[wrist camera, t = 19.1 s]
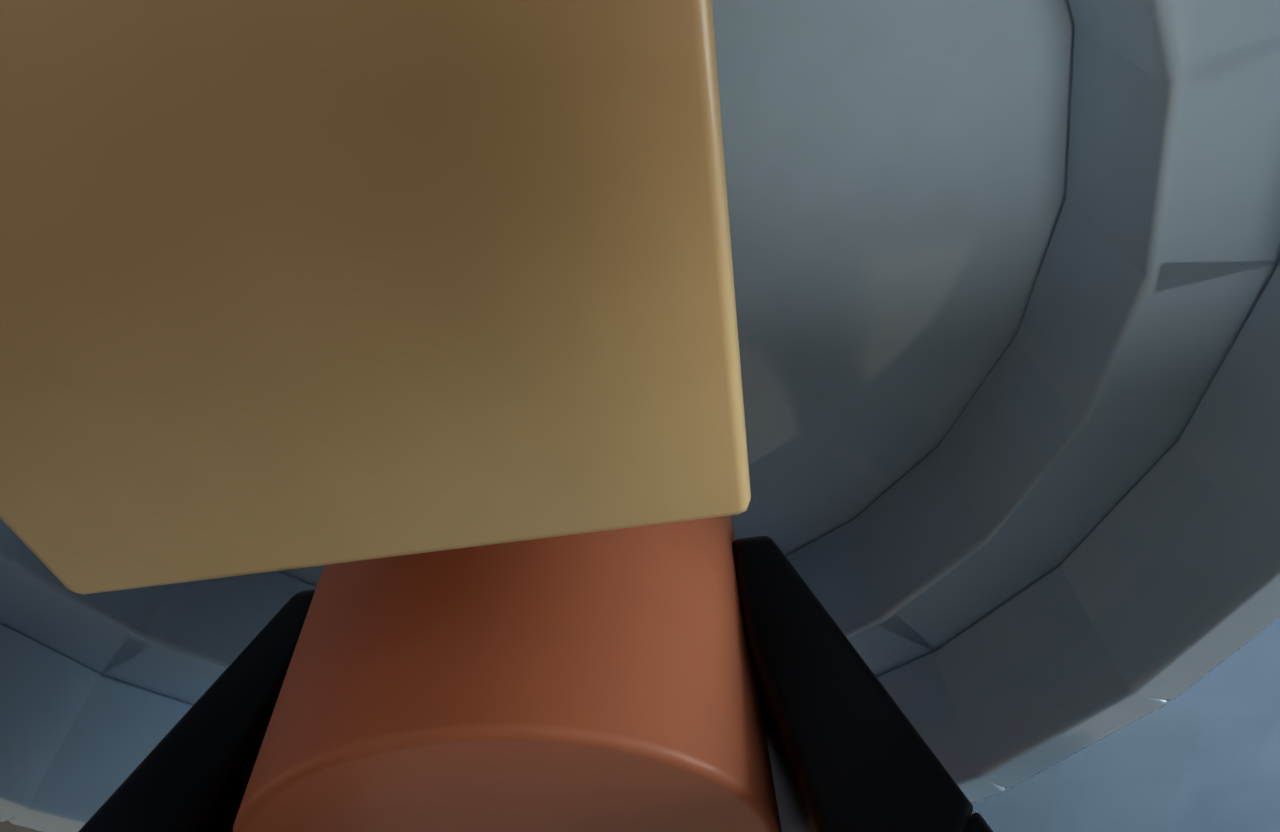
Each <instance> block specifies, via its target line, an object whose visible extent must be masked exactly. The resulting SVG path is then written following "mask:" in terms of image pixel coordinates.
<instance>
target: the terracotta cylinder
mask: <svg viewBox="0 0 1280 832" xmlns="http://www.w3.org/2000/svg"><path fill="white" fill-rule="evenodd" d="M734 541H735V538H734V532H733V526H732V520H731V515H730V516H722V517H714V518H705V519H697V520H689V521H681V522H673V523H665V524H656V525H648V526H640V527H632V528H624V529H616V530H607V531H599V532H591V533H583V534H575V535H567V536H558V537H550V538H542V539H534V540H526V541H518V542H509V543H501V544H493V545H485V546H477V547H469V548H460V549H452V550H444V551H436V552H428V553H420V554H411V555H403V556H395V557H387V558H379V559H371V560H362V561H354V562H346V563H338V564H330V565H324V567H323V570H322V572H321V575H320V578H319V581H318V584H317V587H316V590H315V592H314V595H313V598H312V601H311V604H310V607H309V610H308V613H307V615H306V618H305V621H304V624H303V627H302V630H301V633H300V636H299V638H298V641H297V644H296V647H295V650H294V653H293V656H292V659H291V661H290V664H289V667H288V670H287V673H286V676H285V679H284V682H283V684H282V687H281V690H280V693H279V696H278V699H277V702H276V704H275V707H274V710H273V713H272V716H271V719H270V722H269V725H268V727H267V730H266V733H265V736H264V739H263V742H262V745H261V748H260V750H259V753H258V756H257V759H256V762H255V765H254V768H253V771H252V773H251V776H250V779H249V782H248V785H247V788H246V791H245V793H244V796H243V799H242V802H241V805H240V808H239V811H238V814H237V816H236V819H235V822H234V825H233V832H782V830H781V824H780V818H779V812H778V806H777V799H776V793H775V787H774V781H773V774H772V768H771V762H770V756H769V750H768V743H767V737H766V731H765V725H764V719H763V714H762V708H761V703H760V698H759V692H758V688H757V684H756V679H755V675H754V671H753V666H752V662H751V658H750V652H749V647H748V642H747V636H746V630H745V624H744V617H743V611H742V605H741V598H740V592H739V586H738V579H737V573H736V567H735V560H734V553H733V542H734Z"/></svg>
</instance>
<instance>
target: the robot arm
mask: <svg viewBox="0 0 1280 832" xmlns="http://www.w3.org/2000/svg"><path fill="white" fill-rule="evenodd" d="M733 553H734V560H735V567H736V573H737V579H738V586H739V592H740V598H741V605H742V611H743V617H744V624H745V630H746V636H747V642H748V647H749V652H750V658H751V662H752V666H753V671H754V675H755V679H756V684H757V688H758V692H759V698H760V703H761V708H762V714H763V719H764V725H765V731H766V737H767V743H768V750H769V756H770V762H771V768H772V774H773V781H774V787H775V793H776V799H777V806H778V812H779V818H780V824H781V828H782V832H993V831H992V830H991V828H990V827H989V826H988V824H987V823H986V822H985V820H984V819H983V818H982V816H981V815H980V814H978V813H973V814H972V811H973V805H972V804H971V802H970V801H969V800H968V798H967V797H966V796H965V794H964V793H963V792H962V790H961V789H960V788H959V786H958V785H957V784H956V782H955V781H954V780H953V778H952V777H951V776H950V774H949V773H948V772H947V770H946V769H945V768H944V766H943V765H942V764H941V762H940V761H939V760H938V758H937V757H936V756H935V754H934V753H933V752H932V750H931V749H930V748H929V746H928V745H927V744H926V742H925V741H924V740H923V738H922V737H921V736H920V734H919V733H918V732H917V730H916V729H915V728H914V726H913V725H912V724H911V722H910V721H909V720H908V718H907V717H906V716H905V715H904V713H903V712H902V711H901V709H900V708H899V707H898V705H897V704H896V703H895V701H894V700H893V699H892V697H891V696H890V695H889V693H888V692H887V691H886V689H885V688H884V687H883V685H882V684H881V683H880V681H879V680H878V679H877V677H876V676H875V675H874V673H873V672H872V671H871V669H870V668H869V667H868V665H867V664H866V663H865V661H864V660H863V659H862V657H861V656H860V655H859V653H858V652H857V651H856V649H855V648H854V647H853V645H852V644H851V643H850V641H849V640H848V639H847V637H846V636H845V635H844V633H843V632H842V631H841V629H840V628H839V627H838V625H837V624H836V623H835V621H834V620H833V619H832V617H831V616H830V615H829V613H828V612H827V611H826V609H825V608H824V607H823V605H822V604H821V603H820V601H819V600H818V599H817V597H816V596H815V595H814V594H813V592H812V591H811V590H810V588H809V587H808V586H807V584H806V583H805V582H804V580H803V579H802V578H801V576H800V575H799V574H798V572H797V571H796V570H795V568H794V567H793V566H792V564H791V563H790V562H789V560H788V559H787V558H786V556H785V555H784V554H783V552H782V551H781V550H780V548H779V547H778V546H777V544H776V543H775V542H774V541H773V540H772V539H771V538H770V537H768V536H757V537H748V538H740V539H736V540H735V541H734V542H733ZM315 590H316V589H313V590H305V591H301V592H299V593H297V594H295V595H294V596H293V597H292V598H291V599H289V601H288V602H287V603H286V604H285V605H284V606H283V607H282V608H281V609H280V610H279V612H278V613H277V614H276V615H275V616H274V617H273V618H272V619H271V620H270V621H269V623H268V624H267V625H266V626H265V627H264V628H263V629H262V630H261V631H260V632H259V634H258V635H257V636H256V637H255V638H254V639H253V640H252V641H251V642H250V643H249V645H248V646H247V647H246V648H245V649H244V650H243V651H242V652H241V653H240V654H239V656H238V657H237V658H236V659H235V660H234V661H233V662H232V663H231V664H230V665H229V667H228V668H227V669H226V670H225V671H224V672H223V673H222V674H221V675H220V676H219V678H218V679H217V680H216V681H215V682H214V683H213V684H212V685H211V686H210V687H209V688H208V690H207V691H206V692H205V693H204V694H203V695H202V696H201V697H200V698H199V699H198V701H197V702H196V703H195V704H194V705H193V706H192V707H191V708H190V709H189V710H188V712H187V713H186V714H185V715H184V716H183V717H182V718H181V719H180V720H179V721H178V723H177V724H176V725H175V726H174V727H173V728H172V729H171V730H170V731H169V732H168V734H167V735H166V736H165V737H164V738H163V739H162V740H161V741H160V742H159V743H158V745H157V746H156V747H155V748H154V749H153V750H152V751H151V752H150V753H149V754H148V756H147V757H146V758H145V759H144V760H143V761H142V762H141V763H140V764H139V765H138V767H137V768H136V769H135V770H134V771H133V772H132V773H131V774H130V775H129V776H128V777H127V779H126V780H125V781H124V782H123V783H122V784H121V785H120V786H119V787H118V788H117V790H116V791H115V792H114V793H113V794H112V795H111V796H110V797H109V798H108V799H107V801H106V802H105V803H104V804H103V805H102V806H101V807H100V808H99V809H98V810H97V812H96V813H95V814H94V815H93V816H92V817H91V818H90V819H89V820H88V821H87V823H86V824H85V825H84V826H83V827H82V828H81V829H80V830H79V831H78V832H233V825H234V822H235V819H236V816H237V814H238V811H239V808H240V805H241V802H242V799H243V796H244V793H245V791H246V788H247V785H248V782H249V779H250V776H251V773H252V771H253V768H254V765H255V762H256V759H257V756H258V753H259V750H260V748H261V745H262V742H263V739H264V736H265V733H266V730H267V727H268V725H269V722H270V719H271V716H272V713H273V710H274V707H275V704H276V702H277V699H278V696H279V693H280V690H281V687H282V684H283V682H284V679H285V676H286V673H287V670H288V667H289V664H290V661H291V659H292V656H293V653H294V650H295V647H296V644H297V641H298V638H299V636H300V633H301V630H302V627H303V624H304V621H305V618H306V615H307V613H308V610H309V607H310V604H311V601H312V598H313V595H314V592H315Z"/></svg>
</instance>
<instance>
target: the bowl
mask: <svg viewBox="0 0 1280 832" xmlns="http://www.w3.org/2000/svg"><path fill="white" fill-rule="evenodd" d="M712 9H713V21H714V34H715V47H716V59H717V72H718V85H719V97H720V110H721V123H722V136H723V148H724V161H725V174H726V186H727V199H728V212H729V224H730V237H731V250H732V262H733V275H734V288H735V300H736V313H737V326H738V338H739V351H740V364H741V376H742V389H743V402H744V414H745V427H746V440H747V452H748V465H749V478H750V490H751V499H750V502H749V505H748V508H747V510H746V511H745V512H742V513H740V514H738V515H731V520H732V526H733V532H734V538H735V540H736V539H740V538H748V537H757V536H768V537H770V538H771V539H772V540H773V541H774V542H775V543H776V544H777V546H778V547H779V548H780V550H781V551H782V552H783V554H784V555H785V556H786V558H787V559H788V560H789V562H790V563H791V564H792V566H793V567H794V568H795V570H796V571H797V572H798V574H799V575H800V576H801V578H802V579H803V580H804V582H805V583H806V584H807V586H808V587H809V588H810V590H811V591H812V592H813V594H814V595H815V596H816V597H817V599H818V600H819V601H820V603H821V604H822V605H823V607H824V608H825V609H826V611H827V612H828V613H829V615H830V616H831V617H832V619H833V620H834V621H835V623H836V624H837V625H838V627H839V628H840V629H841V631H842V632H843V633H844V635H845V636H846V637H847V639H848V640H849V641H850V643H851V644H852V645H853V647H854V648H855V649H856V651H857V652H858V653H859V655H860V656H861V657H862V659H863V660H864V661H865V663H866V664H867V665H868V667H869V668H870V669H871V671H872V672H873V673H874V675H875V676H876V677H877V679H878V680H879V681H880V683H881V684H882V685H883V687H884V688H885V689H886V691H887V692H888V693H889V695H890V696H891V697H892V699H893V700H894V701H895V703H896V704H897V705H898V707H899V708H900V709H901V711H902V712H903V713H904V715H905V716H906V717H907V718H908V720H909V721H910V722H911V724H912V725H913V726H914V728H915V729H916V730H917V732H918V733H919V734H920V736H921V737H922V738H923V740H924V741H925V742H926V744H927V745H928V746H929V748H930V749H931V750H932V752H933V753H934V754H935V756H936V757H937V758H938V760H939V761H940V762H941V764H942V765H943V766H944V768H945V769H946V770H947V772H948V773H949V774H950V776H951V777H952V778H953V780H954V781H955V782H956V784H957V785H958V786H959V788H960V789H961V790H962V792H963V793H964V794H965V796H966V797H967V798H968V800H969V801H970V802H971V803H973V802H976V801H979V800H982V799H985V798H987V797H990V796H993V795H996V794H999V793H1001V792H1003V791H1005V788H1011V787H1013V786H1015V785H1017V784H1019V783H1021V782H1023V781H1025V780H1026V779H1028V778H1030V777H1032V776H1034V775H1036V774H1038V773H1040V772H1041V771H1043V770H1045V769H1047V768H1049V767H1051V766H1053V765H1054V764H1056V763H1058V762H1060V761H1062V760H1064V759H1066V758H1068V757H1069V756H1071V755H1073V754H1075V753H1077V752H1079V751H1081V750H1083V749H1084V748H1086V747H1088V746H1090V745H1092V744H1094V743H1096V742H1097V741H1099V740H1101V739H1103V738H1105V737H1107V736H1109V735H1111V734H1112V733H1114V732H1116V731H1118V730H1120V729H1122V728H1124V727H1125V726H1127V725H1129V724H1131V723H1133V722H1135V721H1137V720H1139V719H1140V718H1142V717H1144V716H1146V715H1148V714H1150V713H1152V712H1154V711H1155V710H1157V709H1159V708H1161V707H1163V706H1165V705H1166V703H1167V701H1169V700H1173V699H1176V698H1177V697H1178V696H1179V695H1181V694H1182V693H1183V692H1185V691H1186V690H1187V689H1188V688H1190V687H1191V686H1192V685H1194V684H1195V683H1196V682H1197V681H1199V680H1200V679H1201V678H1203V677H1204V676H1205V675H1206V674H1208V673H1209V672H1210V671H1212V670H1213V669H1214V668H1215V667H1217V666H1218V665H1219V664H1221V663H1222V662H1223V661H1224V660H1226V659H1227V658H1228V657H1230V656H1231V655H1232V654H1233V653H1235V652H1236V651H1237V650H1238V649H1240V648H1241V647H1242V646H1244V645H1245V644H1246V643H1247V642H1249V641H1250V640H1251V639H1253V638H1254V637H1255V636H1256V635H1258V634H1259V633H1260V632H1262V631H1263V630H1264V629H1265V628H1267V627H1268V626H1269V625H1271V624H1272V623H1273V622H1274V621H1276V620H1277V619H1278V618H1280V0H712ZM323 567H324V565H322V566H313V567H305V568H297V569H289V570H281V571H273V572H264V573H256V574H248V575H240V576H232V577H224V578H215V579H207V580H199V581H191V582H183V583H175V584H166V585H158V586H150V587H142V588H134V589H126V590H117V591H109V592H101V593H93V594H85V595H83V594H78V593H75V592H72V591H70V590H68V589H67V588H66V587H65V586H64V585H63V584H62V583H61V581H60V580H59V579H58V578H57V577H56V576H55V575H54V574H53V573H52V572H51V571H50V570H49V569H48V568H47V567H46V566H45V565H44V564H43V563H42V561H41V560H40V559H39V558H38V557H37V556H36V555H35V554H34V553H33V552H32V551H31V550H30V549H29V548H28V547H27V546H26V545H25V544H24V543H23V541H22V540H21V539H20V538H19V537H18V536H17V535H16V534H15V533H14V532H13V531H12V530H11V529H10V528H9V527H8V526H7V525H6V524H5V523H4V521H3V520H2V519H1V518H0V821H1V822H2V821H7V820H8V821H9V822H10V823H12V824H15V825H19V826H23V827H27V828H31V829H35V830H39V831H43V832H78V831H79V830H80V829H81V828H82V827H83V826H84V825H85V824H86V823H87V821H88V820H89V819H90V818H91V817H92V816H93V815H94V814H95V813H96V812H97V810H98V809H99V808H100V807H101V806H102V805H103V804H104V803H105V802H106V801H107V799H108V798H109V797H110V796H111V795H112V794H113V793H114V792H115V791H116V790H117V788H118V787H119V786H120V785H121V784H122V783H123V782H124V781H125V780H126V779H127V777H128V776H129V775H130V774H131V773H132V772H133V771H134V770H135V769H136V768H137V767H138V765H139V764H140V763H141V762H142V761H143V760H144V759H145V758H146V757H147V756H148V754H149V753H150V752H151V751H152V750H153V749H154V748H155V747H156V746H157V745H158V743H159V742H160V741H161V740H162V739H163V738H164V737H165V736H166V735H167V734H168V732H169V731H170V730H171V729H172V728H173V727H174V726H175V725H176V724H177V723H178V721H179V720H180V719H181V718H182V717H183V716H184V715H185V714H186V713H187V712H188V710H189V709H190V708H191V707H192V706H193V705H194V704H195V703H196V702H197V701H198V699H199V698H200V697H201V696H202V695H203V694H204V693H205V692H206V691H207V690H208V688H209V687H210V686H211V685H212V684H213V683H214V682H215V681H216V680H217V679H218V678H219V676H220V675H221V674H222V673H223V672H224V671H225V670H226V669H227V668H228V667H229V665H230V664H231V663H232V662H233V661H234V660H235V659H236V658H237V657H238V656H239V654H240V653H241V652H242V651H243V650H244V649H245V648H246V647H247V646H248V645H249V643H250V642H251V641H252V640H253V639H254V638H255V637H256V636H257V635H258V634H259V632H260V631H261V630H262V629H263V628H264V627H265V626H266V625H267V624H268V623H269V621H270V620H271V619H272V618H273V617H274V616H275V615H276V614H277V613H278V612H279V610H280V609H281V608H282V607H283V606H284V605H285V604H286V603H287V602H288V601H289V599H291V598H292V597H293V596H294V595H295V594H297V593H299V592H301V591H305V590H313V589H316V587H317V584H318V581H319V578H320V575H321V572H322V570H323ZM781 830H782V828H781Z"/></svg>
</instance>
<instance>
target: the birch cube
mask: <svg viewBox="0 0 1280 832" xmlns="http://www.w3.org/2000/svg"><path fill="white" fill-rule="evenodd" d="M750 499H751V490H750V478H749V465H748V452H747V440H746V427H745V414H744V402H743V389H742V376H741V364H740V351H739V338H738V326H737V313H736V300H735V288H734V275H733V262H732V250H731V237H730V224H729V212H728V199H727V186H726V174H725V161H724V148H723V136H722V123H721V110H720V97H719V85H718V72H717V59H716V47H715V34H714V21H713V9H712V0H0V518H1V519H2V520H3V521H4V523H5V524H6V525H7V526H8V527H9V528H10V529H11V530H12V531H13V532H14V533H15V534H16V535H17V536H18V537H19V538H20V539H21V540H22V541H23V543H24V544H25V545H26V546H27V547H28V548H29V549H30V550H31V551H32V552H33V553H34V554H35V555H36V556H37V557H38V558H39V559H40V560H41V561H42V563H43V564H44V565H45V566H46V567H47V568H48V569H49V570H50V571H51V572H52V573H53V574H54V575H55V576H56V577H57V578H58V579H59V580H60V581H61V583H62V584H63V585H64V586H65V587H66V588H67V589H68V590H70V591H72V592H75V593H78V594H83V595H85V594H93V593H101V592H109V591H117V590H126V589H134V588H142V587H150V586H158V585H166V584H175V583H183V582H191V581H199V580H207V579H215V578H224V577H232V576H240V575H248V574H256V573H264V572H273V571H281V570H289V569H297V568H305V567H313V566H322V565H330V564H338V563H346V562H354V561H362V560H371V559H379V558H387V557H395V556H403V555H411V554H420V553H428V552H436V551H444V550H452V549H460V548H469V547H477V546H485V545H493V544H501V543H509V542H518V541H526V540H534V539H542V538H550V537H558V536H567V535H575V534H583V533H591V532H599V531H607V530H616V529H624V528H632V527H640V526H648V525H656V524H665V523H673V522H681V521H689V520H697V519H705V518H714V517H722V516H730V515H738V514H740V513H742V512H745V511H746V510H747V508H748V505H749V502H750Z"/></svg>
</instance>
